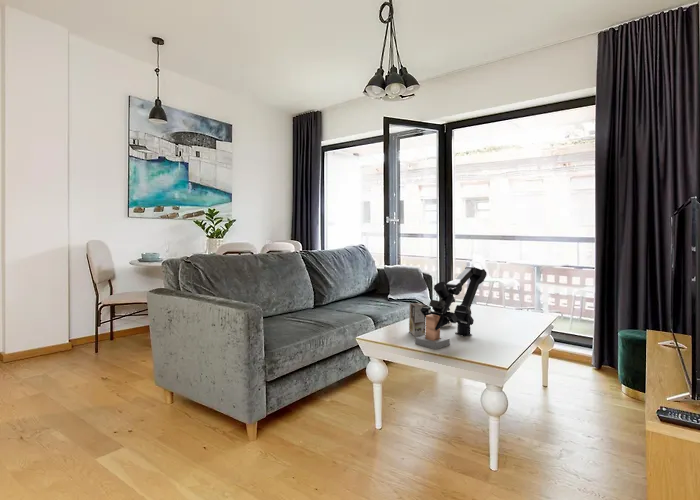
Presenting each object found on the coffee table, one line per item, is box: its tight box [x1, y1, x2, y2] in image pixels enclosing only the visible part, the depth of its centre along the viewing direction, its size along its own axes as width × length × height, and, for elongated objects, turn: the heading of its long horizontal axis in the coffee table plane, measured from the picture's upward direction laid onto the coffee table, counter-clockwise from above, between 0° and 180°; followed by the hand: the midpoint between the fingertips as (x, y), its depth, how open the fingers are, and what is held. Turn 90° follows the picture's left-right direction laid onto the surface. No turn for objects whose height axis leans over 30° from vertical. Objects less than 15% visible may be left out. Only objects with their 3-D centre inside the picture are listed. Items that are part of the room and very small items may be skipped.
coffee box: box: [408, 302, 427, 337], centre depth 215 cm, size 9×6×16 cm
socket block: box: [414, 335, 451, 350], centre depth 196 cm, size 12×12×3 cm
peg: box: [425, 314, 441, 341], centre depth 196 cm, size 5×5×13 cm
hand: (431, 328), depth 195 cm, fingers closed on peg, 5 cm apart
